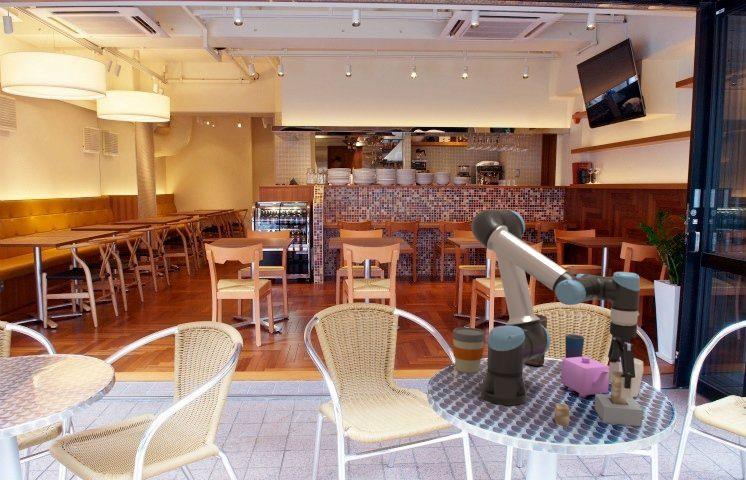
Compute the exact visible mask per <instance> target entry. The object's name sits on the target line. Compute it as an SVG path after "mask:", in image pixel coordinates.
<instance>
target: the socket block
mask: <svg viewBox="0 0 746 480" xmlns="http://www.w3.org/2000/svg"><path fill="white" fill-rule="evenodd" d="M594 396H595V398H594V410H595V412H596V414H597V415H598V417H599V418H600V420H601V422H602V423H603V424H611V425H622V426H623V425H624V426H634V427H642V426H643V416H644V415H643V414H644V410H643V409H642V407H641V406H640V405H639V403H638V402H637V401H636V400H635V399H634V397H631V399H626V405H619V404H612V403H611V394H606V393H600V394H595V395H594Z"/></svg>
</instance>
